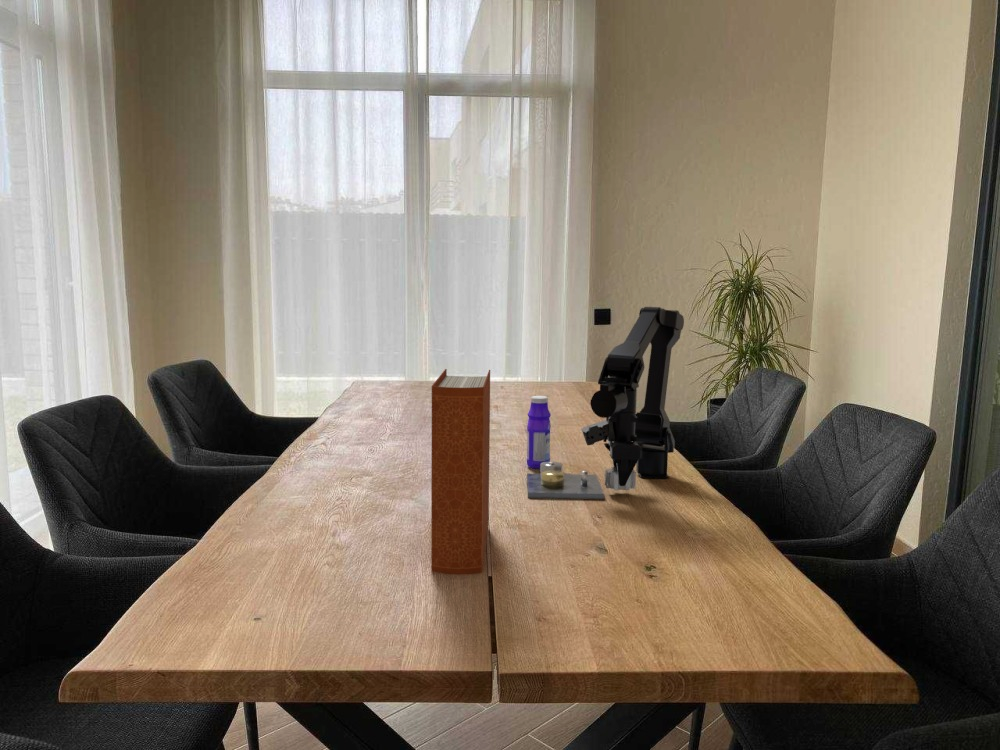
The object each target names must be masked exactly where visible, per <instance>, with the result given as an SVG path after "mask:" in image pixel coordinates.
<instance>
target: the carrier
mask: <svg viewBox="0 0 1000 750" xmlns="http://www.w3.org/2000/svg"><path fill="white" fill-rule="evenodd" d="M539 471H540V473H526V484H527V486H526V488H527V498H528V499H550V500H551V499H552V500H553V499H555V500H557V499H558V500H560V499H561V500H562V499H563V500H564V499H565V500H572V499H573V500H604V498H605V497H604V491H603V489H602V486H601V484H600V481H599V479H598V476H597V474H589V472H588V471H589V470H581V473H579V474H578V473H577V474H575V473H574V474H573V473H565V472H563V463H561V462H558V461H550V462H542V463H541V464H540V469H539Z"/></svg>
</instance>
